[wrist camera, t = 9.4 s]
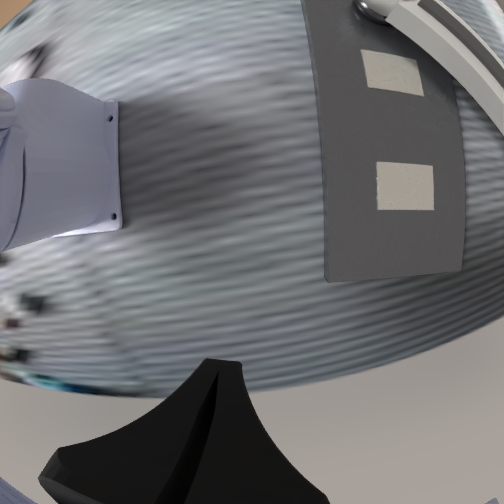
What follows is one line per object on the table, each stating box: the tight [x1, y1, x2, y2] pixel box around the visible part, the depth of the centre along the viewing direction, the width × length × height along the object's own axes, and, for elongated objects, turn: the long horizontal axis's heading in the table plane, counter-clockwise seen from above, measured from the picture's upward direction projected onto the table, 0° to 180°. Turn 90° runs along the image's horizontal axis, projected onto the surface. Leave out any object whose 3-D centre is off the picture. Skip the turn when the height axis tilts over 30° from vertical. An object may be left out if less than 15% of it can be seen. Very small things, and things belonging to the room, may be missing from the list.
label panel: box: [301, 0, 466, 283], centre depth 15 cm, size 22×11×2 cm, turn 3°
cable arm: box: [362, 0, 504, 135], centre depth 10 cm, size 20×4×3 cm, turn 57°
